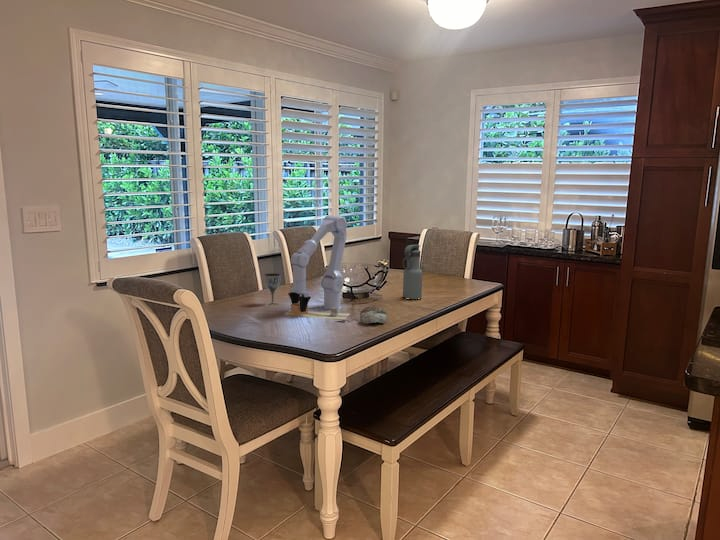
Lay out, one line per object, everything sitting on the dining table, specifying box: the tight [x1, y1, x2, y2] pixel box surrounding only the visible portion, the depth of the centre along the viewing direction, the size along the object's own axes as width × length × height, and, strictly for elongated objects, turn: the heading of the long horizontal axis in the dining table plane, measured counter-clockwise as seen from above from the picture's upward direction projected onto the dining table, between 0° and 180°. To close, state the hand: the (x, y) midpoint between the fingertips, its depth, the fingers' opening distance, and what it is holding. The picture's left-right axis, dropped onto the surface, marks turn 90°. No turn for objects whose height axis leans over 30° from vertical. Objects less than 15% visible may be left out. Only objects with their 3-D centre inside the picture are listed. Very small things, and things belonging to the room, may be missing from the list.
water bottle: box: [402, 244, 423, 299], centre depth 280 cm, size 10×10×28 cm
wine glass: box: [263, 272, 282, 307], centre depth 261 cm, size 8×8×15 cm
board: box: [282, 305, 351, 324], centre depth 240 cm, size 12×28×5 cm, turn 79°
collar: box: [290, 303, 309, 315], centre depth 241 cm, size 6×6×4 cm
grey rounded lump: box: [359, 305, 388, 325], centre depth 233 cm, size 14×9×10 cm
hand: (299, 309), depth 241 cm, fingers open, 7 cm apart
